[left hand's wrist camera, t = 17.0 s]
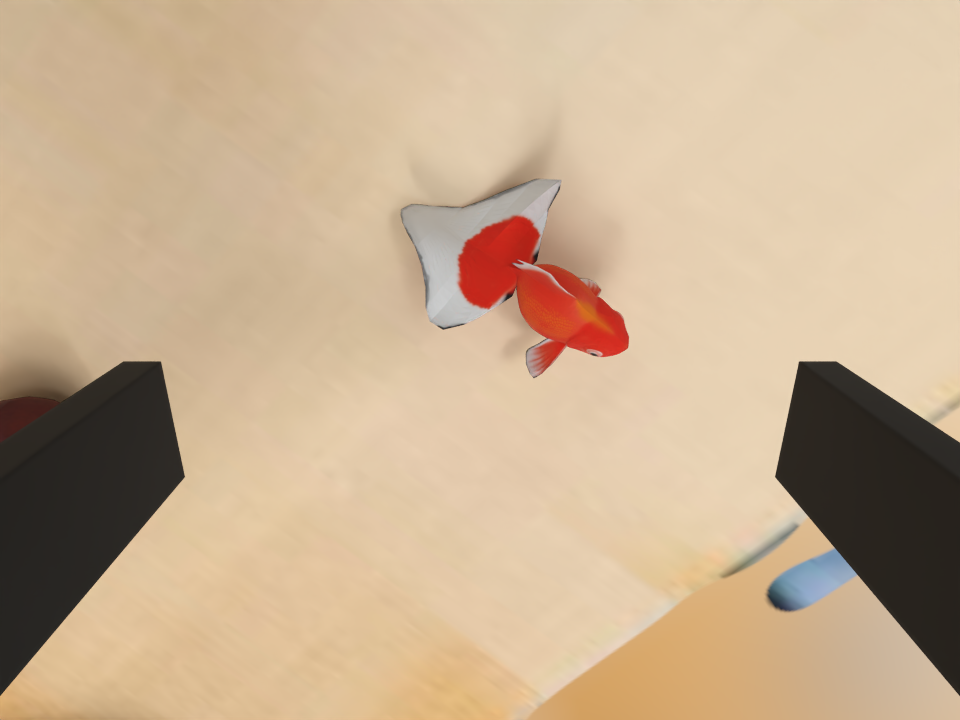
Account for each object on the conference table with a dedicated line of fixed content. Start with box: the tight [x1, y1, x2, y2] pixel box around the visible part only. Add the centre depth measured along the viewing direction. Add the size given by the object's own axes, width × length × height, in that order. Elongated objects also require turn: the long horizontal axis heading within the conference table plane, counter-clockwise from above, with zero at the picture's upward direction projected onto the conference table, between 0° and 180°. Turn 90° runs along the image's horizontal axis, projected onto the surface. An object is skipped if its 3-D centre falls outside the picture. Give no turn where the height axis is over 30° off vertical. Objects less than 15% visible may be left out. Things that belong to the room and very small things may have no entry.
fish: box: [401, 179, 629, 378], centre depth 37 cm, size 11×16×10 cm
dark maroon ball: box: [0, 397, 60, 443], centre depth 42 cm, size 7×8×7 cm
